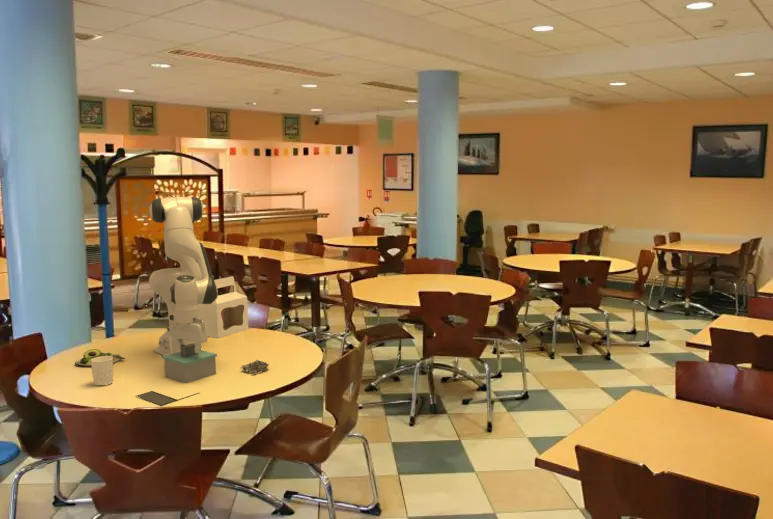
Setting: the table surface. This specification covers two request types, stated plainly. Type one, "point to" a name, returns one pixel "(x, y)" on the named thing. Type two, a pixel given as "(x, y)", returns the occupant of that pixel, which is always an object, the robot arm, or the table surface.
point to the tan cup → (102, 370)
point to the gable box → (233, 311)
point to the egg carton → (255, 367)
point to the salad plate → (93, 354)
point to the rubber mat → (159, 398)
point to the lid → (189, 355)
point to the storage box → (190, 370)
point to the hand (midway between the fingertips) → (189, 350)
